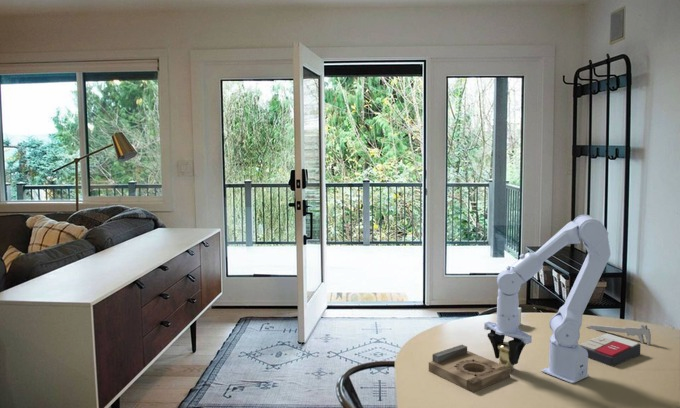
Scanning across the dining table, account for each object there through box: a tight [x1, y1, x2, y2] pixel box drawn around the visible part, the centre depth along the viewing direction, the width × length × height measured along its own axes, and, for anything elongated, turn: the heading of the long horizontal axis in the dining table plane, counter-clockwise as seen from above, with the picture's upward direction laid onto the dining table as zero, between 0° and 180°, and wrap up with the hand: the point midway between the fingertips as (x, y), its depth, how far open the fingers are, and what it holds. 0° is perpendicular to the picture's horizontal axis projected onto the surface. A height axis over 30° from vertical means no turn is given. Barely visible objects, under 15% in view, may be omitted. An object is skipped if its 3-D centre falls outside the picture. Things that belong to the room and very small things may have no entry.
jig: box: [428, 344, 511, 393], centre depth 147 cm, size 16×15×4 cm
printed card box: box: [579, 333, 641, 367], centre depth 159 cm, size 11×4×15 cm
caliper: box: [586, 324, 652, 346], centre depth 174 cm, size 20×1×6 cm, turn 36°
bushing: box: [497, 341, 515, 373], centre depth 150 cm, size 5×5×7 cm
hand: (506, 360), depth 150 cm, fingers closed on bushing, 5 cm apart
